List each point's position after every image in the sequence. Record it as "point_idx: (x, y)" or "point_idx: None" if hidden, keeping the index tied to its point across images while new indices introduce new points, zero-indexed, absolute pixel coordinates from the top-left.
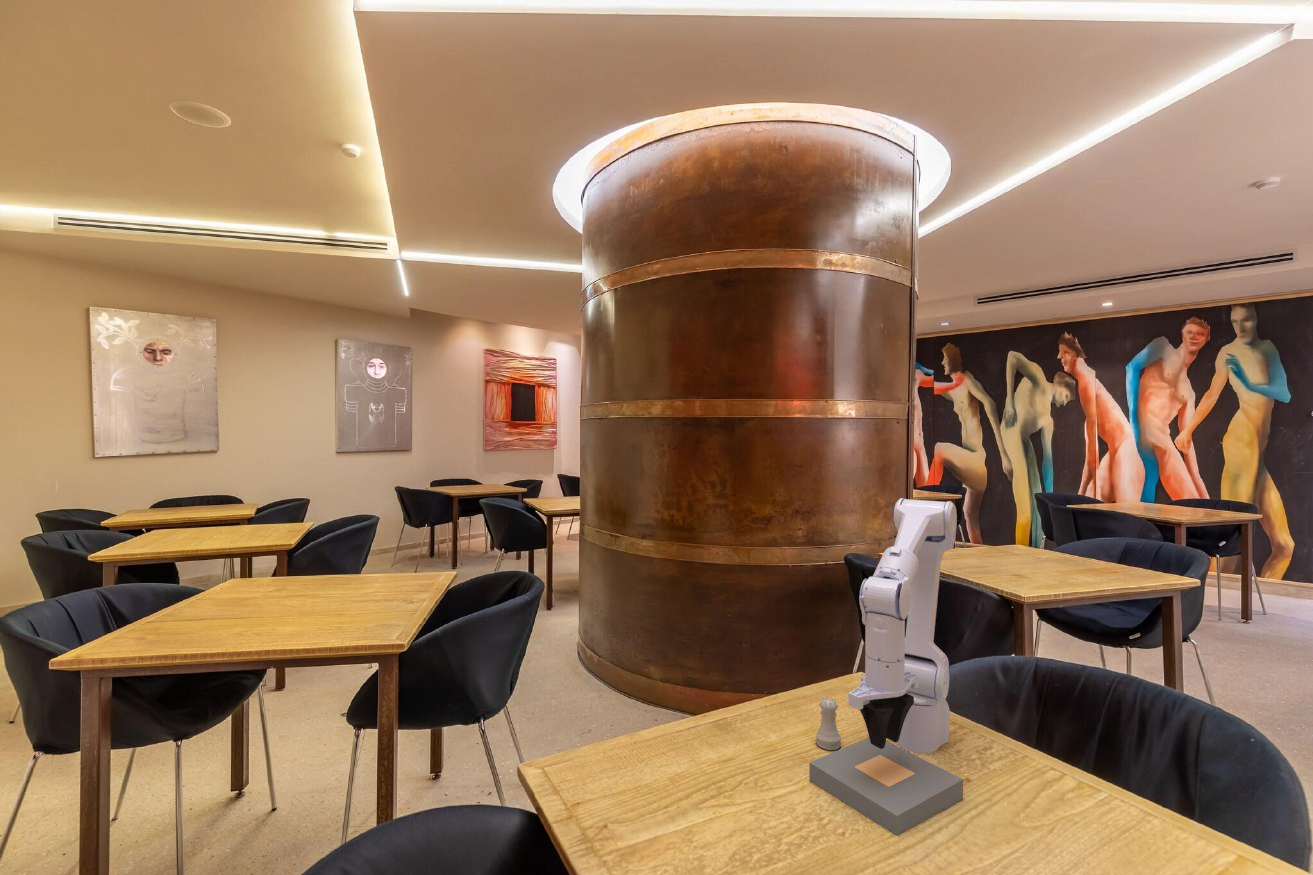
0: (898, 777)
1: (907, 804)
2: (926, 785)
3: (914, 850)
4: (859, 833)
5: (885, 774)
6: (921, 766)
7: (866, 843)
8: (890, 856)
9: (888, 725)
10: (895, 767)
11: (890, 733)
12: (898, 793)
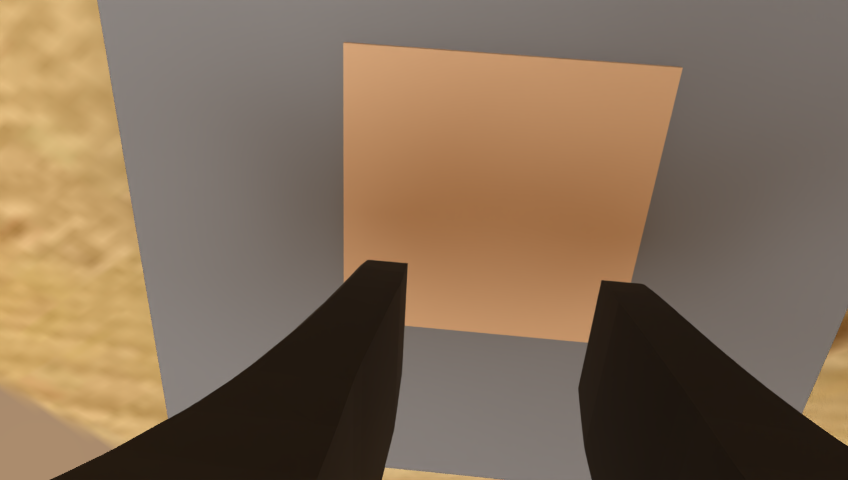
0: (486, 304)
1: None
2: (541, 425)
3: None
4: (84, 272)
5: (449, 239)
6: (740, 326)
7: (68, 321)
8: (105, 406)
9: (632, 413)
10: (587, 237)
11: (602, 383)
12: None
